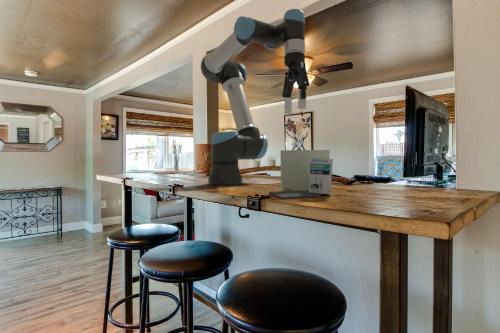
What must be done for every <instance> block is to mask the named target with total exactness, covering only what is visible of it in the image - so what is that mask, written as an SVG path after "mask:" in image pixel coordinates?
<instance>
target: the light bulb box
mask: <svg viewBox="0 0 500 333" xmlns="http://www.w3.org/2000/svg"><path fill="white" fill-rule="evenodd" d="M333 163H334V159H333V158H330V159H321V158H311V159H310V168H309V190H308V192H309V193H315V194H319V195H331V194H332V180H333V179H332V178H333V177H332V176H333V165H334V164H333Z"/></svg>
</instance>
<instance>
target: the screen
mask: <svg viewBox="0 0 500 333" xmlns="http://www.w3.org/2000/svg"><path fill="white" fill-rule="evenodd" d="M279 155H280V156H279V157H280V191H302V190H304V191H309V168H310V159H311V158H321V159H331V158H330V157H331V156H330V155H331V154H330V149H301V150H300V149H296V150H295V149H294V150H293V149H289V150H286V149H285V150H283V149H282V150H281V149H280V154H279Z"/></svg>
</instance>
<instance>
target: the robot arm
mask: <svg viewBox="0 0 500 333" xmlns="http://www.w3.org/2000/svg"><path fill="white" fill-rule="evenodd" d="M305 25H306V22H305V13H304V11H303V10H302V9H299V8H291V9H288V10H286V11H285V13H284V15H283V21H282V22H280V23H279V24H277V25H274V24H271V23H267V22H265V21H260V20H258V19H255V18H252V17H250V16H249V17H248V16H243V15H241V16H239V17H238V18H237V19H236V21H235V22H234V26H233V32H232V33H231V34H229V36H227V38H226V39H224V40H223V41H222V43H220V44H219V45H218V46H217V47H216V48H215V49H214V50H213V51H212V52H208V53H206V55H204V57H203V58H202V59H201V62H200V71H201V73H202V75H203V77H204V79H206V80H207V81H209V82H211V83H213V84H221V88H222V90H223V91H224V92H226V94H227V99H228V102H229V106H230V109H231V113H232V117H233V121H234V125H235V128H236V130H229V131H228V130H226V131H221V132H220V131H219V132H214V133H213V134H212V135H211V139H210V140H211V141H210V142H211V143H210V146H211V168H210V172H209V175H208V178H207V183H208V185H210V186H236V185H242V184H243V175H242V173H241V171H240V170H241V169H240V167H239V160H240V161H241V160H245V161H247V160H253V161H254V160H259V159H260V160H261V159H262V158H264V157H265V156H266V154H267V150H268V148H269V142H268V138H267V136H266V135H264V134H261V132H260V129H259V127H257V126H255V124H254V121H253V116H252V113H251V109H250V107H249V102H248V100H247V97H246V96H247V95H246V92H245V89H244V86H245V84H246V81H247V79H248V77H247V75H248V72H247V69H246V67H245V65H244V64H243V63H240V62H237V61H235V60H233V59H234V58H235V57H236V56H237V55H239V54H240V53H241V52H242V51H244V50H245V49H246V48H247V47H248V46H250V45H251V44H252V43H256V44H257V43H258V44H260V45H261V44H262V45H263V46H264V48H266V49H267V50H269V51H273V50H276V49H279V48H281V47H283V48H284V59H283V60H284V66H285V67H287V68H288V71H285V72H284V81H283V82H284V83H283V89H282V98H284V115H292V113H293V106H292V103H293V102H292V101H293V99H292V98H293V96H292V93H293V88H294V85H295V83H296V84H297V86H298V87H297V104H298V106H297V109H298V110H306V109H307V90H308V88H309V86H310V81H309V76H308V72H307V68H306V62H305V60H306V58H305V56H306V55H305V54H306V42H305V40H306V39H305V35H306V34H305V33H306V32H305V31H306V30H305V29H306V26H305ZM232 60H233V61H232Z"/></svg>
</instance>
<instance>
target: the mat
mask: <svg viewBox="0 0 500 333" xmlns="http://www.w3.org/2000/svg"><path fill="white" fill-rule="evenodd" d="M268 194H269V195H271V196H273V197H276V198H279V199H281V200H290V199H291V200H292V199H309V198H311V199H314V198H322V194H317V193H309V190H302V191H281V190H280V191H269V192H268Z"/></svg>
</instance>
